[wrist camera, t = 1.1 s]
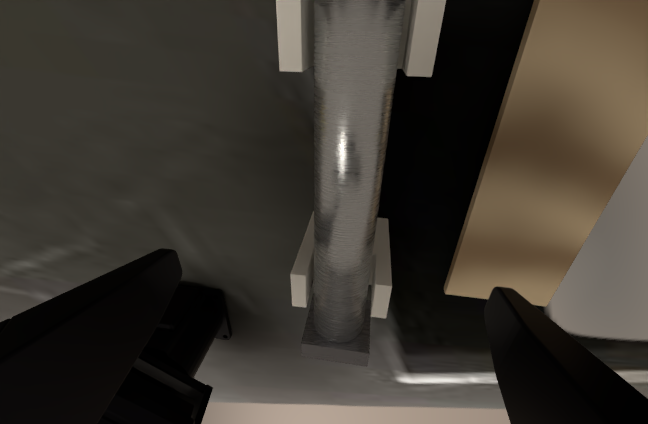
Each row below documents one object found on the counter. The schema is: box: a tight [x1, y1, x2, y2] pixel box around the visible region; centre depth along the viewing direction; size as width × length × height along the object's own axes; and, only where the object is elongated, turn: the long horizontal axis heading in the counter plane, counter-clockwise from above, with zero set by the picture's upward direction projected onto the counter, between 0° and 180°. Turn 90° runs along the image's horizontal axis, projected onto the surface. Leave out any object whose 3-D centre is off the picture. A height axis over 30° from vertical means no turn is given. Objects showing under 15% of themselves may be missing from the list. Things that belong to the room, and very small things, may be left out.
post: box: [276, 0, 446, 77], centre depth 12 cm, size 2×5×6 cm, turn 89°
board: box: [444, 0, 648, 306], centre depth 17 cm, size 21×7×1 cm, turn 179°
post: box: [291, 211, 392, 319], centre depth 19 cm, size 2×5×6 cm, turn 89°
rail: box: [301, 0, 406, 366], centre depth 13 cm, size 20×4×4 cm, turn 179°
